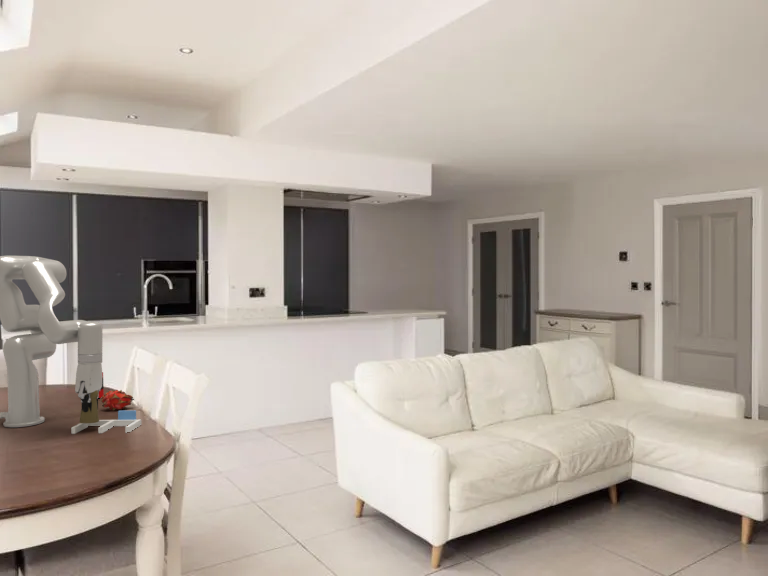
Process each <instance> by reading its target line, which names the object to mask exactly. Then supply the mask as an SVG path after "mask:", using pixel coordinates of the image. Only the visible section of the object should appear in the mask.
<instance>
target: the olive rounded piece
mask: <svg viewBox="0 0 768 576" xmlns="http://www.w3.org/2000/svg"><path fill="white" fill-rule="evenodd" d="M84 393H87V391H85V392H84ZM85 396H87V397H88V395H85ZM97 397H98V391H97V390H96V391H94V392H92V393H91V402H92V410H91V411H90V408H89V410H88V412H83V411H82V408H81V410H80V414H79V415H80V417H79V421H78V424H80V423H85V424H86V423H96V422H99V420H100V418H99V407H98V408H97V400H96V398H97Z"/></svg>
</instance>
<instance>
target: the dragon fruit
mask: <svg viewBox="0 0 768 576" xmlns="http://www.w3.org/2000/svg"><path fill="white" fill-rule="evenodd" d="M132 401H135V398H134V397H133V395H130V394H127V393H125V391H123V390H122V389H120V390H118V389H112V390H109V391H108V392H104V396H102V398H101V399H100V402H101V404H102V408H109V411H116V410H120V411H123V410H122V409H125V410H127V409H128V406H131V404H132Z"/></svg>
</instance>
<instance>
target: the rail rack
mask: <svg viewBox="0 0 768 576" xmlns="http://www.w3.org/2000/svg"><path fill="white" fill-rule="evenodd" d="M127 425H128V426H127ZM140 425H141V426H142V419H141V418H140V419H139V418H138V419H137V410H135V409H134V410H118V411H117V419H99V422H96V423H86V424H85V423H77V424H76V425H74V426H72V427H71V433H70V434H72V435H75V434H77V433H79V432H81V431H83V430H84V429H87V428H89V427H88V426H100V427H97V430H98V431H97V432H98V433H97V434H103V433H106V432H107V431H109V430H110V429H112V428H114V427H124V429H125V430H124V431H125V434H128V433H127V432H130V433H131V432H133V431H135V430H136V429H138V428H139V427H141V426H140ZM113 426H114V427H113ZM137 427H138V428H137ZM135 428H136V429H135ZM108 429H109V430H108ZM134 429H135V430H134ZM132 430H133V431H132Z"/></svg>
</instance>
